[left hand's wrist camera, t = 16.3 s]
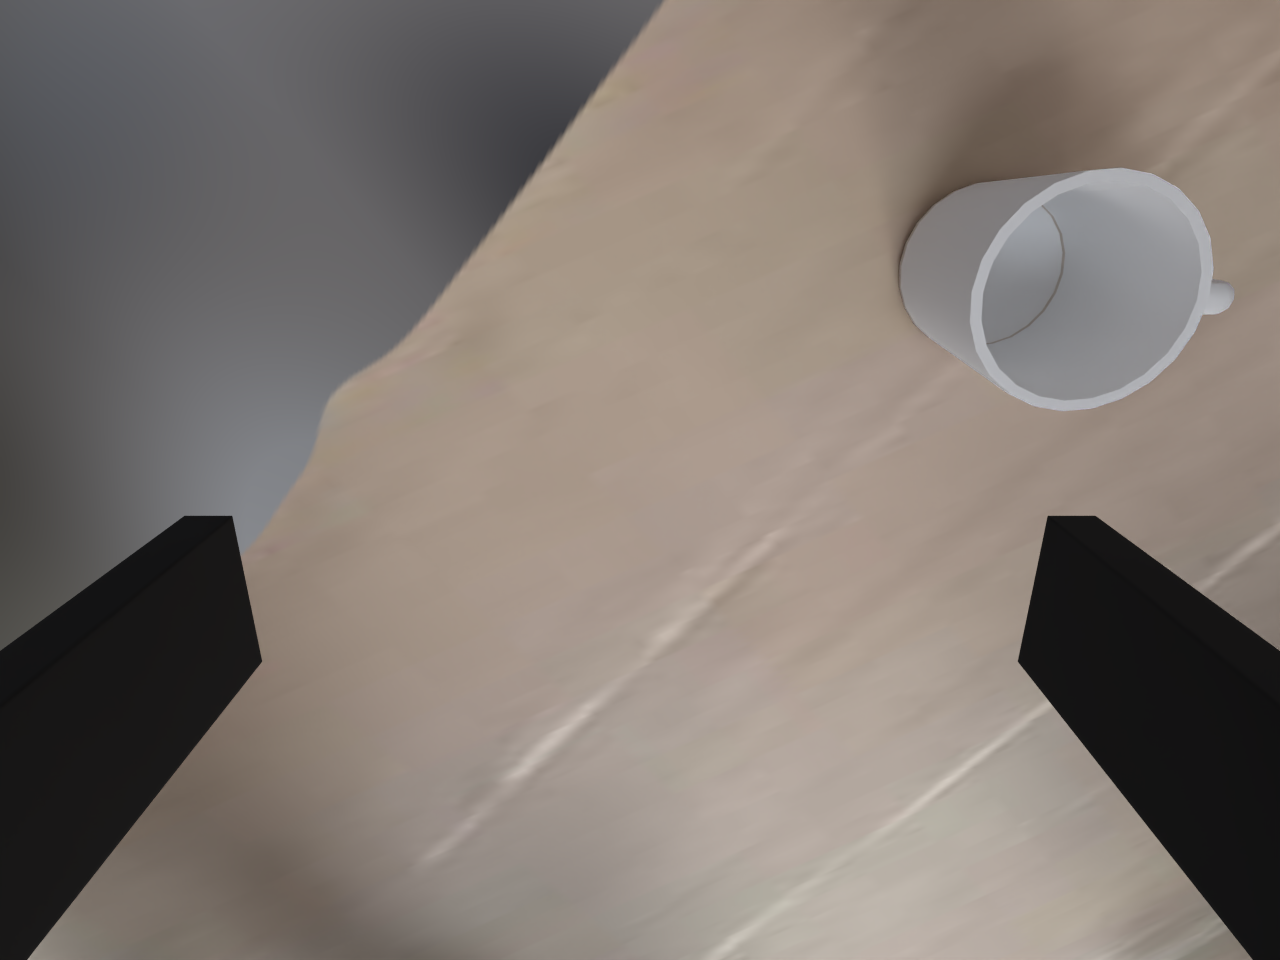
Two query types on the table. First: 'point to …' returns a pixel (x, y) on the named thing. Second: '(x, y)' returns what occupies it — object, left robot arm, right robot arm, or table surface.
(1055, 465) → the table surface
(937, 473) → the table surface
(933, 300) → the mug
